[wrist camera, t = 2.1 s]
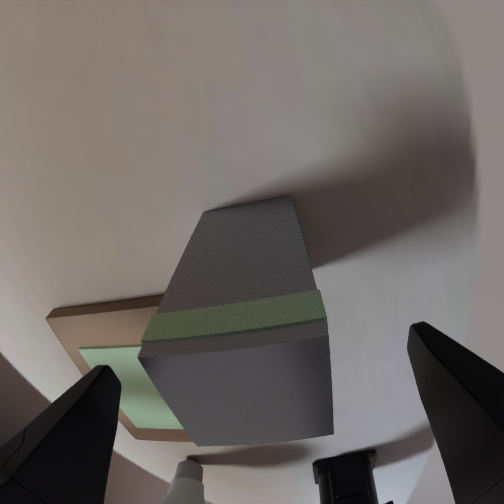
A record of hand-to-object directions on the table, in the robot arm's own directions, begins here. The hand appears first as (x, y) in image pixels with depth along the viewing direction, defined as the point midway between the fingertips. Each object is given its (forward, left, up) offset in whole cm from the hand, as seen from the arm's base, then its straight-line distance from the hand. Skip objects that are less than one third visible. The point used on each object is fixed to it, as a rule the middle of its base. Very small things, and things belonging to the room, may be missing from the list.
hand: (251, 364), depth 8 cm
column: (0, 0, -8) cm, 8 cm away
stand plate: (-9, +8, -7) cm, 14 cm away
